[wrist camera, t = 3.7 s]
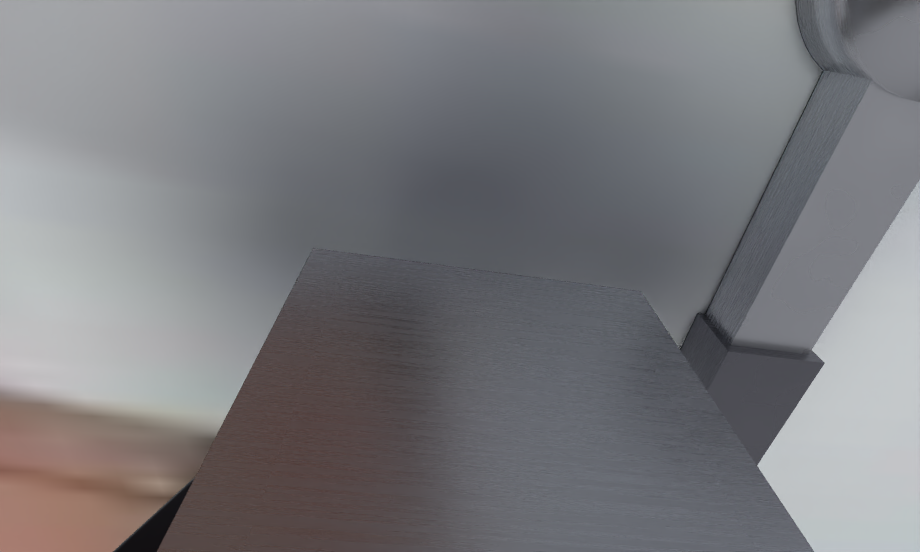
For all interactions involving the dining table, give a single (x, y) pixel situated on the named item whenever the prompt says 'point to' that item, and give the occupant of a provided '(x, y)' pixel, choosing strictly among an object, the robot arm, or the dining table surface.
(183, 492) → the robot arm
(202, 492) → the gray block
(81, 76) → the dining table surface
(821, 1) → the gray handled tool
